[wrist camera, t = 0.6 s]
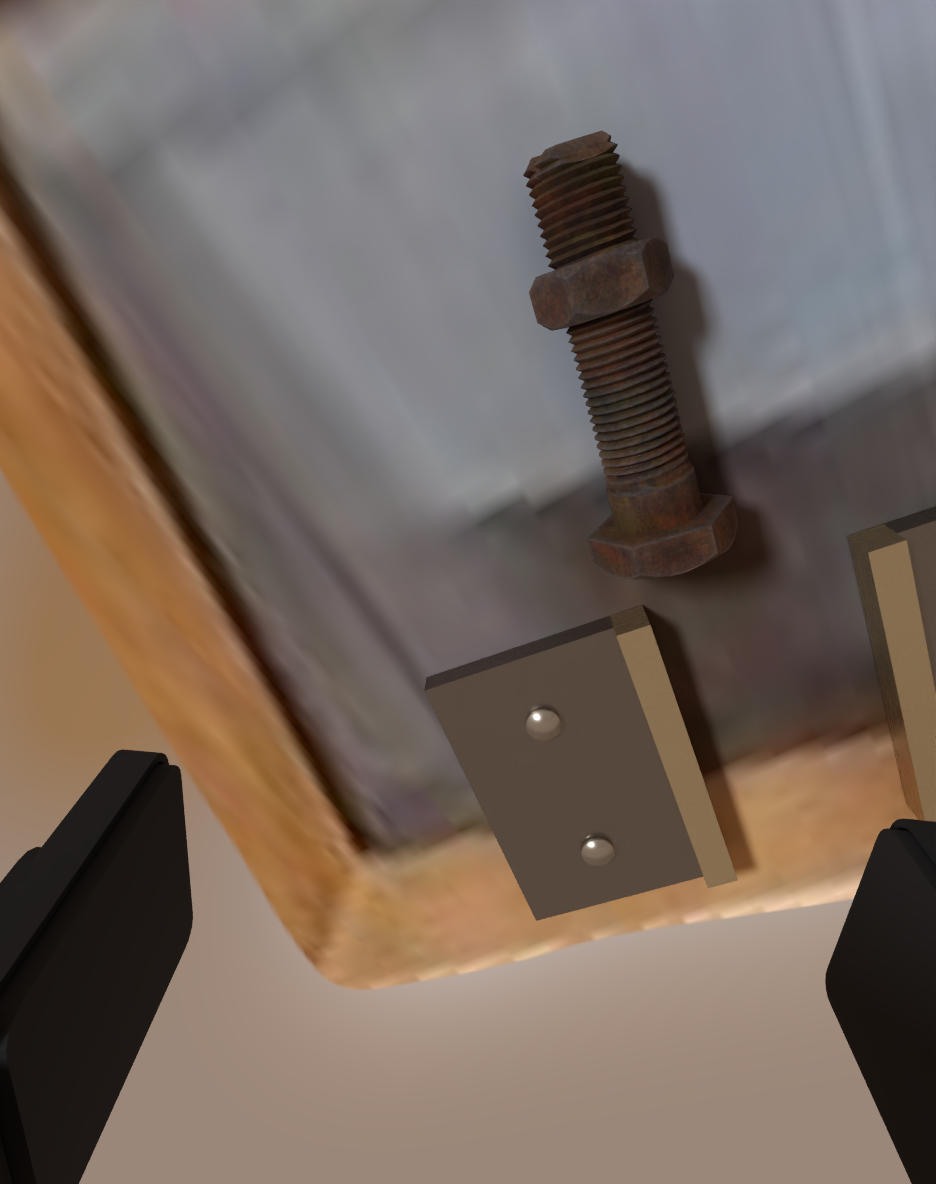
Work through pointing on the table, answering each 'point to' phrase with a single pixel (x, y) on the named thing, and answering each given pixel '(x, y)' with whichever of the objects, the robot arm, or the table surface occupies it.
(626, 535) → the bolt
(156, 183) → the table surface
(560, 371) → the table surface
